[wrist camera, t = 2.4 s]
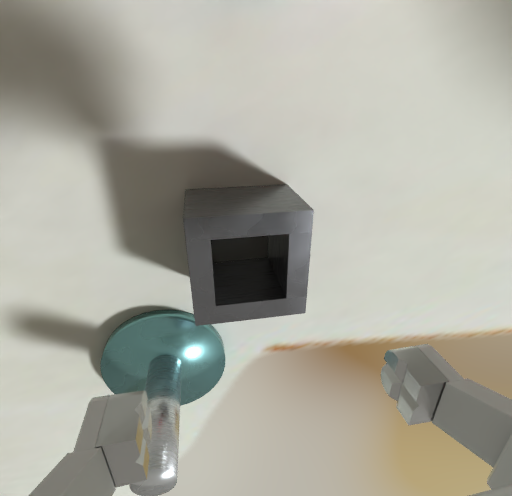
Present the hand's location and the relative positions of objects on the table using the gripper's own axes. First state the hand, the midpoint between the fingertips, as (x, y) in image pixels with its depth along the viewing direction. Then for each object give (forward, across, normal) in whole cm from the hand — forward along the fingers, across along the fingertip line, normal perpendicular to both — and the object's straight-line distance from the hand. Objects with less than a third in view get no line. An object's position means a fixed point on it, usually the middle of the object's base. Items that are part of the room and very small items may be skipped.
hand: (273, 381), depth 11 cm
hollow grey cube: (+12, -1, 0) cm, 12 cm away
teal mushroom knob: (+12, +5, +10) cm, 16 cm away
